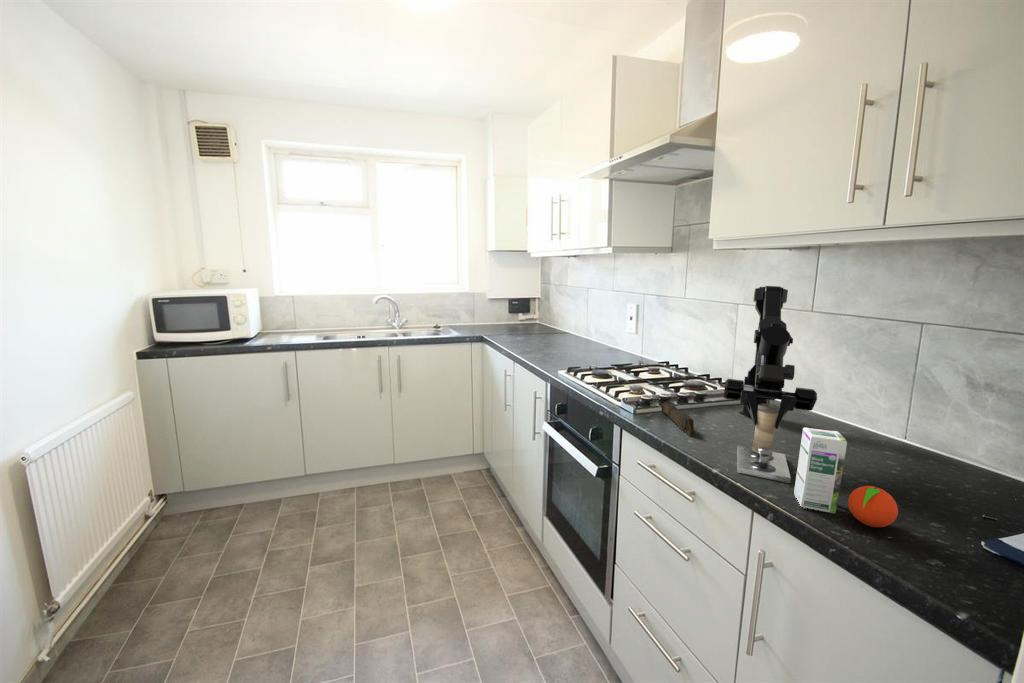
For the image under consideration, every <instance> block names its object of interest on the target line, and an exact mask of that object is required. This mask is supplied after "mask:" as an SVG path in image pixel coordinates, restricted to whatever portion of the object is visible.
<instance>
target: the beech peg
mask: <svg viewBox="0 0 1024 683" xmlns="http://www.w3.org/2000/svg"><path fill="white" fill-rule="evenodd" d="M778 410H779V407H778V406H777V405H775V404H771V403H769V404H766V403H760V404H758V411H757V424H756V425H754V426H755V428H754V436H753V442H752V447H751V448H752V450H753V451H754V452H756V453H758V447H767V448H770V449H772V450H773V447H774V440H775V434H776V433H775V432H776V421H777V414H778Z"/></svg>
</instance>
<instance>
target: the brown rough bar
mask: <svg viewBox="0 0 1024 683" xmlns="http://www.w3.org/2000/svg"><path fill="white" fill-rule="evenodd" d="M660 405H661V413H663V412H664V413H663V414H664V415H666V416H668V418H669V419H670V420H672V422H674V423H675V424H676V425H677V427H678V430H679V429H680V430H681V432H682V431H683V432H684V433H683V432H682V433H683V434H685V433H686V434H685V435H687V436H690V437H692V435H693V430H694V426H695V425H694V422H695V421H694V419H693V418H692V416H690V415H689V414H684V413H683V412H682V411H681V410H679V409H678V408H677V406H675V403H674V402H671V401H664V402H663V403H661V404H660ZM680 430H679V431H680Z"/></svg>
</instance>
